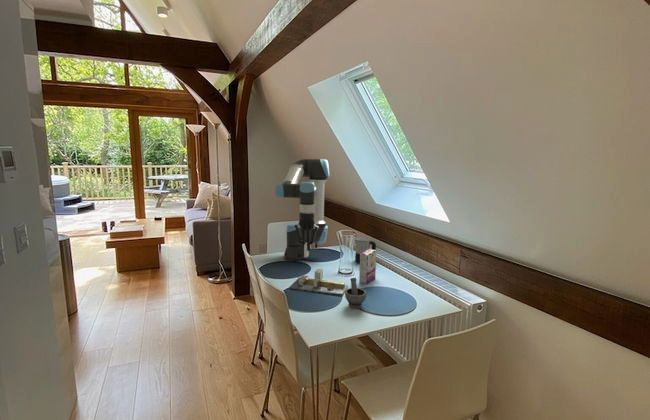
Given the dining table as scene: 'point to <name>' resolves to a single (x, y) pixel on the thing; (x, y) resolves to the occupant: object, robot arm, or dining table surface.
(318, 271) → the block
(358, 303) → the mortar and pestle
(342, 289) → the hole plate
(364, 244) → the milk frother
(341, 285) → the beam
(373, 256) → the candy bar box
